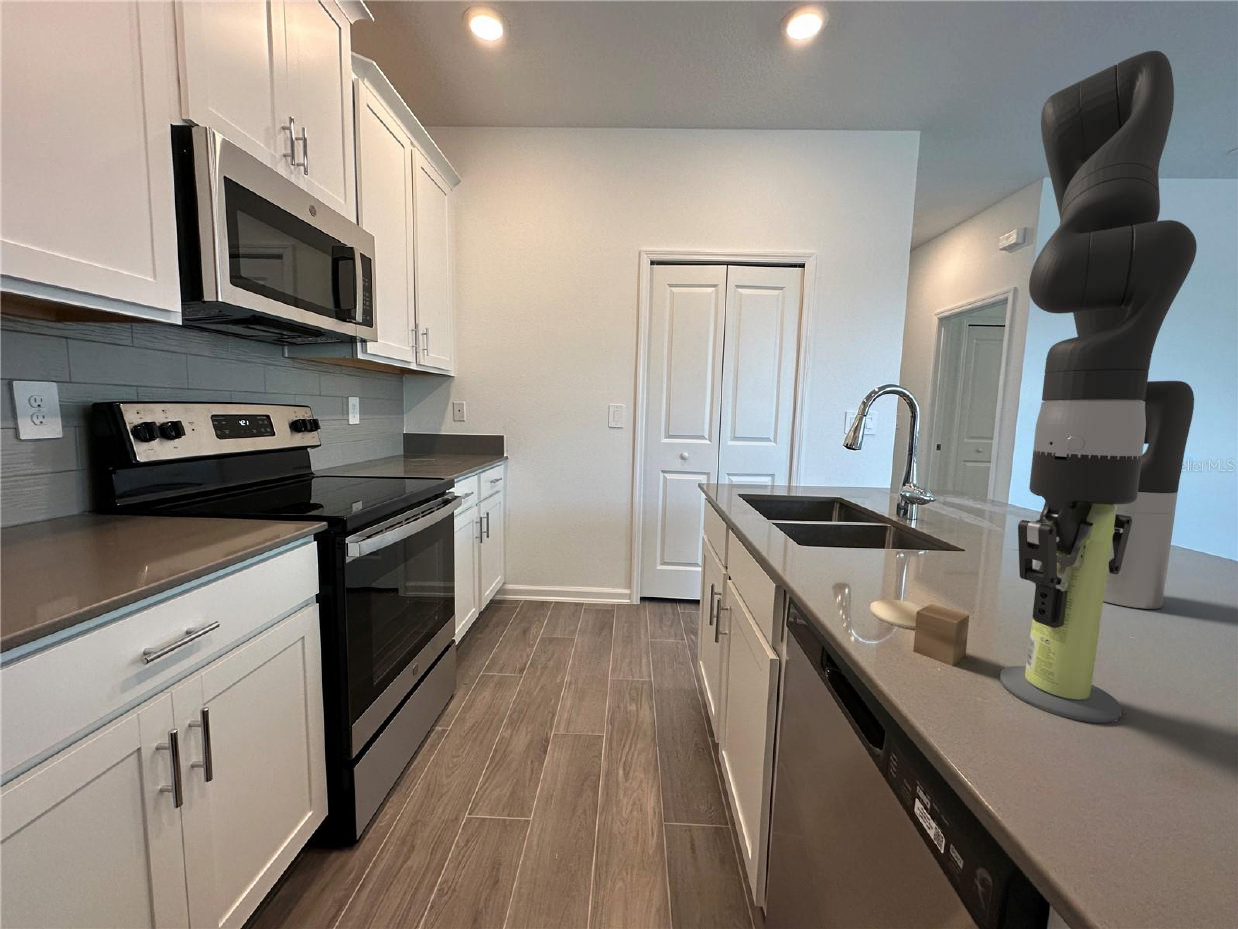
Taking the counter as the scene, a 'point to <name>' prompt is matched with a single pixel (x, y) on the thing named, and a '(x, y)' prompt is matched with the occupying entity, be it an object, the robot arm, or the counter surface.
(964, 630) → the walnut block
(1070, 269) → the robot arm
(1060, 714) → the pad
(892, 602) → the pad
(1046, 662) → the tube
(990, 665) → the counter surface
